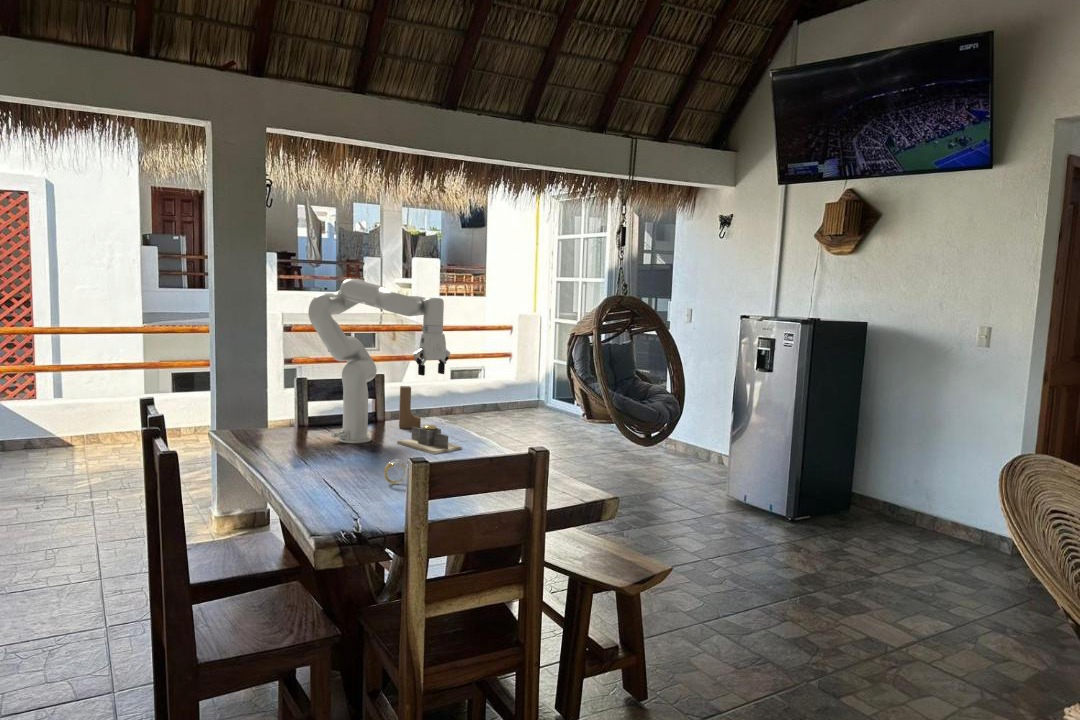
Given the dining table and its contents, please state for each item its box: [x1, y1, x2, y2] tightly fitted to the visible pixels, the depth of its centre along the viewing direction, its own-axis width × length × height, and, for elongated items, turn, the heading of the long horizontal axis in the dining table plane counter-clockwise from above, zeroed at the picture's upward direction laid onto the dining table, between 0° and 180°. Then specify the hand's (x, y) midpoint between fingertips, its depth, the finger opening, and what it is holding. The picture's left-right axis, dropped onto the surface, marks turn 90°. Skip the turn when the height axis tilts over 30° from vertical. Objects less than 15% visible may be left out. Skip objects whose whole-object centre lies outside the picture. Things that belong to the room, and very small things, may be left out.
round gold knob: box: [422, 424, 438, 430], centre depth 281 cm, size 5×5×6 cm
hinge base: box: [396, 427, 463, 455], centre depth 281 cm, size 14×22×7 cm, turn 48°
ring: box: [383, 458, 408, 485], centre depth 227 cm, size 7×3×8 cm, turn 105°
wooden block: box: [398, 385, 422, 430], centre depth 314 cm, size 9×4×18 cm, turn 103°
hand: (431, 374), depth 279 cm, fingers open, 9 cm apart
